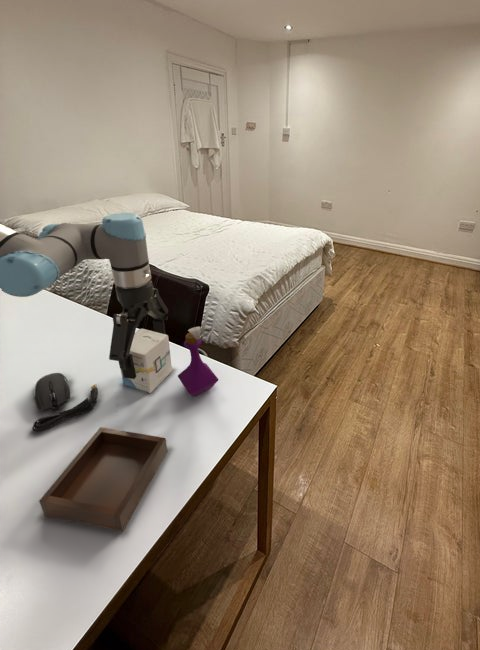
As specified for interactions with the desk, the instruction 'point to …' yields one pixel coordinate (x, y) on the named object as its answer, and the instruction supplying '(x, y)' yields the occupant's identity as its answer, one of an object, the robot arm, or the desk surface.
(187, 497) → the desk surface
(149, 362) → the ink box
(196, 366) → the perfume bottle
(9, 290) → the robot arm
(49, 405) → the computer mouse
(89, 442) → the wooden tray
